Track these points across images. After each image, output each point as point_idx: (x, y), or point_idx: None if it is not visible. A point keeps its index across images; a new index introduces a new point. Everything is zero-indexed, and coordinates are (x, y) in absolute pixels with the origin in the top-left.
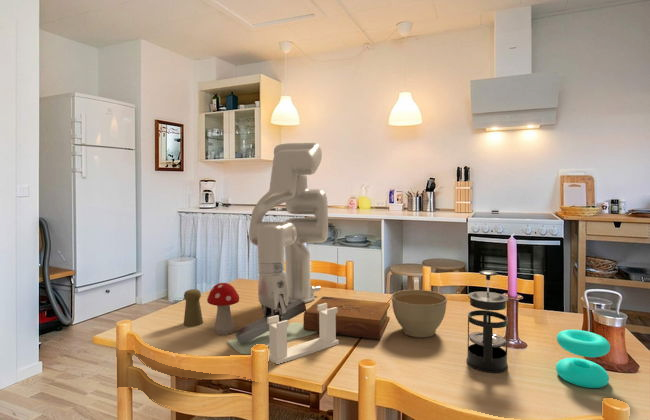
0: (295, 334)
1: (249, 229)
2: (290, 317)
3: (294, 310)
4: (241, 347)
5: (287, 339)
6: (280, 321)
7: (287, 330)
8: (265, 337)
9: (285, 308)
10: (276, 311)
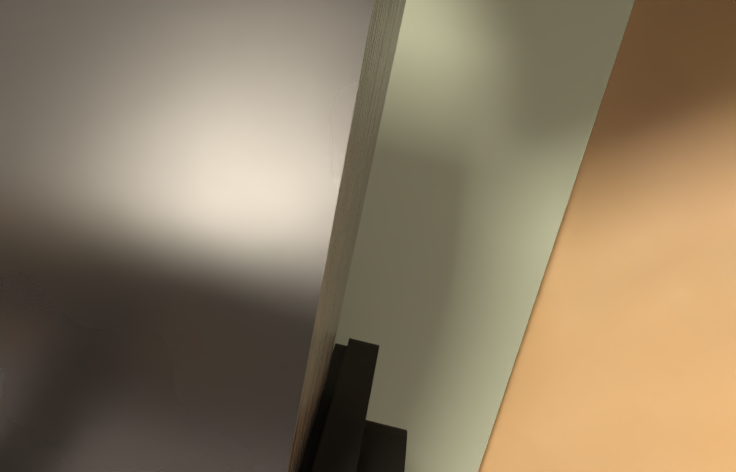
0: (499, 88)
1: None
2: (372, 155)
3: (389, 3)
4: None
5: (527, 308)
6: (356, 456)
7: None
8: None
9: (103, 259)
10: (19, 462)
